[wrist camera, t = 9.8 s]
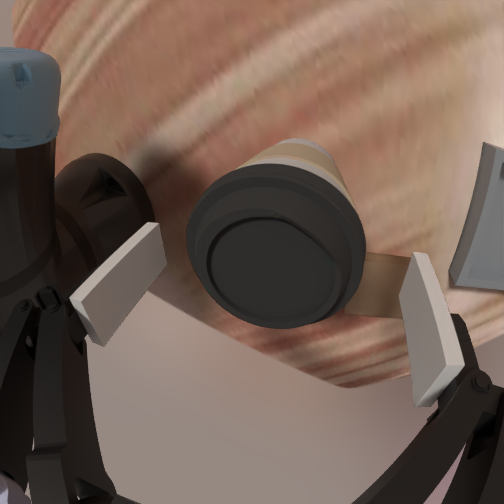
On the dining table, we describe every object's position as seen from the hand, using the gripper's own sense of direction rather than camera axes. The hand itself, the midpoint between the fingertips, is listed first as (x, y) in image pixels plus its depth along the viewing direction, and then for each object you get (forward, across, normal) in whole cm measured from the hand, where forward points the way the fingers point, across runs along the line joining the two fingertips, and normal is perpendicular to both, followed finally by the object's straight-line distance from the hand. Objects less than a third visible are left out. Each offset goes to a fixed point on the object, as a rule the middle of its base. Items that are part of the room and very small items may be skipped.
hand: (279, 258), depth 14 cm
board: (+14, +10, -10) cm, 20 cm away
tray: (+13, +24, -1) cm, 27 cm away
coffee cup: (+13, 0, 0) cm, 13 cm away
